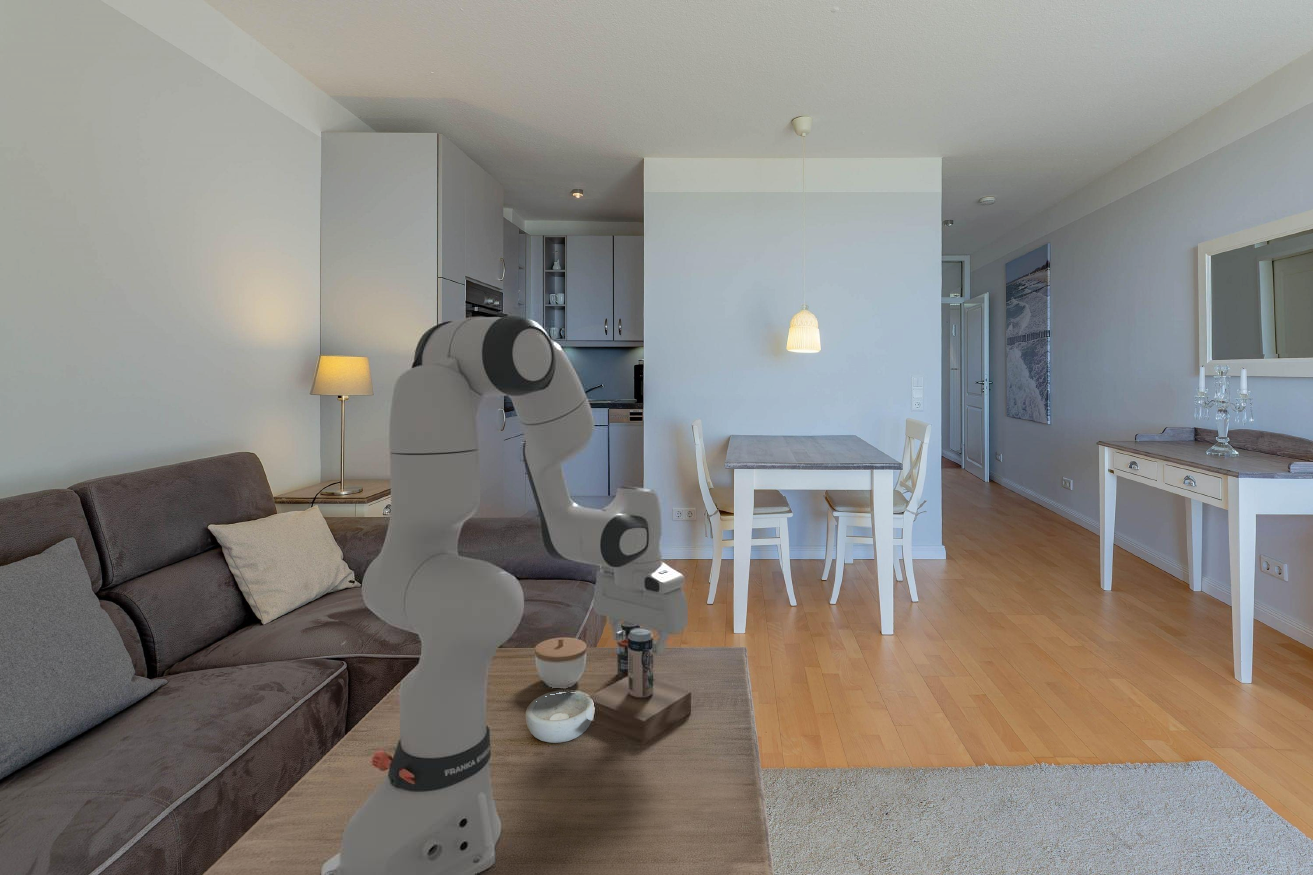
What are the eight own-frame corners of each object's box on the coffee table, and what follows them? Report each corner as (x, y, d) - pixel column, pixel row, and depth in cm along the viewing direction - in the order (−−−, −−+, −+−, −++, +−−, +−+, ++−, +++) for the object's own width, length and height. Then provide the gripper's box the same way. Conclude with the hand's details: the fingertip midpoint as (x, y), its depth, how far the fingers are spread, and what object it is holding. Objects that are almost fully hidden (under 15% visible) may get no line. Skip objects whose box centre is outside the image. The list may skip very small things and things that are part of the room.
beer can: (651, 700, 120) (650, 636, 119) (625, 698, 121) (625, 635, 120) (655, 688, 125) (655, 627, 124) (631, 687, 125) (630, 626, 125)
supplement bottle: (646, 669, 143) (646, 618, 143) (643, 680, 137) (643, 628, 137) (619, 668, 144) (619, 617, 143) (615, 679, 138) (614, 627, 137)
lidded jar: (529, 677, 139) (528, 634, 139) (577, 668, 144) (577, 626, 143) (542, 698, 130) (542, 652, 129) (594, 688, 134) (593, 643, 134)
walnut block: (644, 743, 113) (644, 720, 112) (585, 718, 121) (585, 698, 121) (691, 712, 124) (691, 691, 123) (634, 691, 132) (634, 672, 132)
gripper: (585, 567, 125) (586, 638, 126) (671, 586, 112) (671, 665, 113) (608, 560, 130) (608, 629, 130) (692, 578, 117) (692, 653, 118)
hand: (638, 646), depth 122 cm, fingers open, 8 cm apart
